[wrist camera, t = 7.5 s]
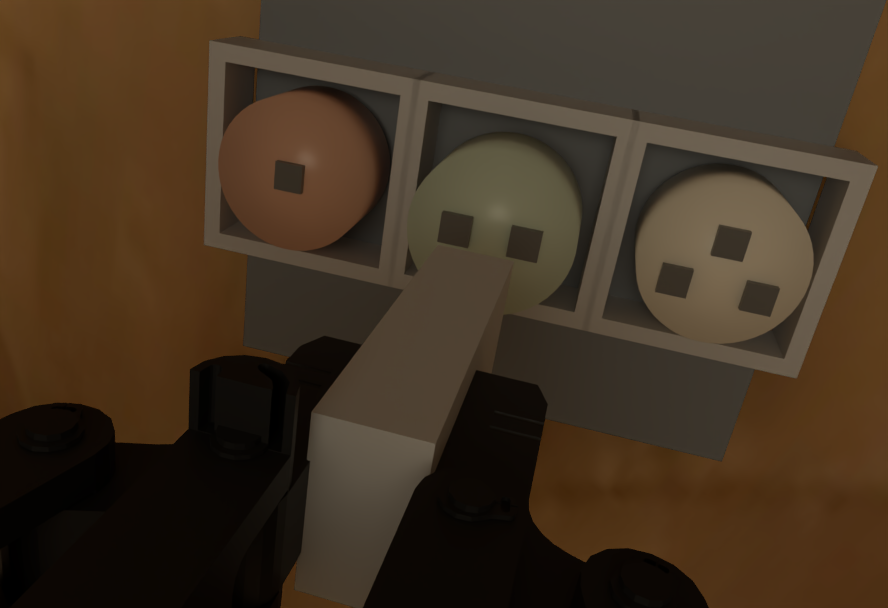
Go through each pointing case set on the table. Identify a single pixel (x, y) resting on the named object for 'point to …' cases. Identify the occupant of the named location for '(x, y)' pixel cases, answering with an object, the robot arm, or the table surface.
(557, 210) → the sage button
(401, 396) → the robot arm
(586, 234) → the panel
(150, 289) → the table surface
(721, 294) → the cream button
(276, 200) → the terracotta button
